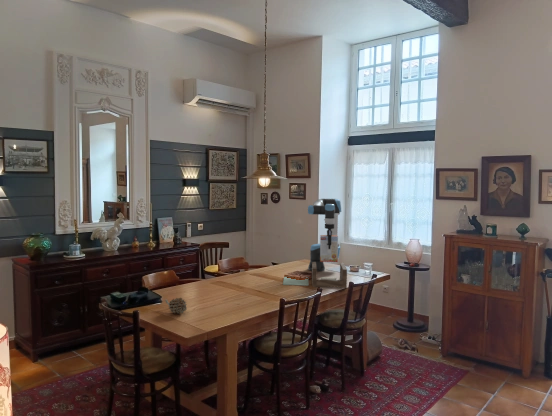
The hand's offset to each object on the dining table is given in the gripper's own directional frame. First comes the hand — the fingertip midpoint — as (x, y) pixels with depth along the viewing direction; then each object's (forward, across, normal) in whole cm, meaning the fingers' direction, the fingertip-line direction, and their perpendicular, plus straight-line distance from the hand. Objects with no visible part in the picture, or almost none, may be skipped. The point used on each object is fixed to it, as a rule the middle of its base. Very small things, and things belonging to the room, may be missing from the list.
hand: (328, 252), depth 345 cm
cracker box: (+8, 0, 0) cm, 8 cm away
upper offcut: (+22, +7, 0) cm, 23 cm away
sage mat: (+24, +1, -26) cm, 36 cm away
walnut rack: (+24, +3, 0) cm, 24 cm away
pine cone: (+24, +86, -100) cm, 134 cm away
